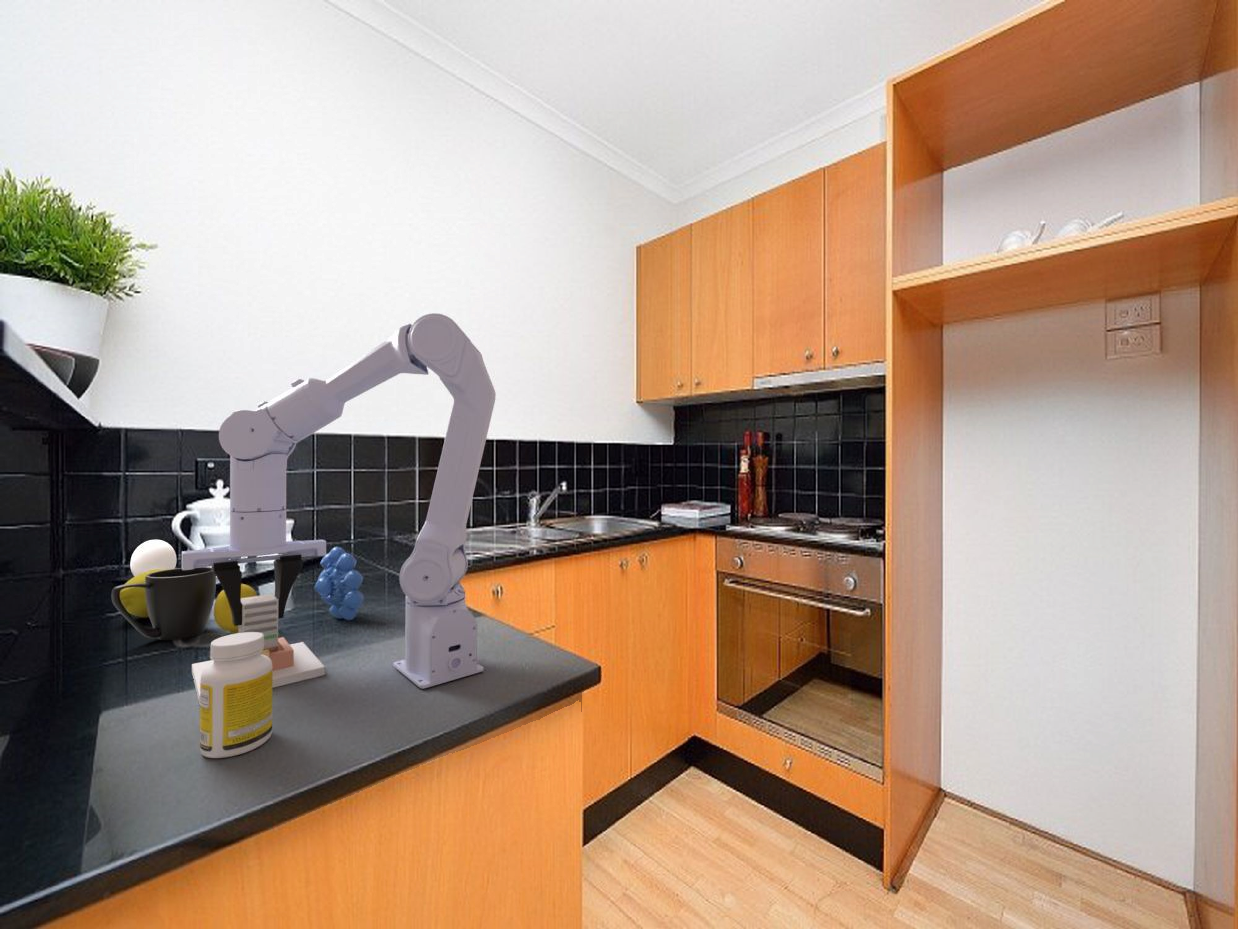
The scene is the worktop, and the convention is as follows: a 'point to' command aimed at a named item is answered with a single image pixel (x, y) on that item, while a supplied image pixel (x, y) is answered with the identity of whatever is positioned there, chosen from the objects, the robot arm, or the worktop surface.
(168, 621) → the mug
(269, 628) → the column
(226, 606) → the lemon
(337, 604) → the grapes
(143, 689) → the worktop surface
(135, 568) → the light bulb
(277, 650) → the stand base
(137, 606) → the lemon
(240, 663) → the supplement bottle
